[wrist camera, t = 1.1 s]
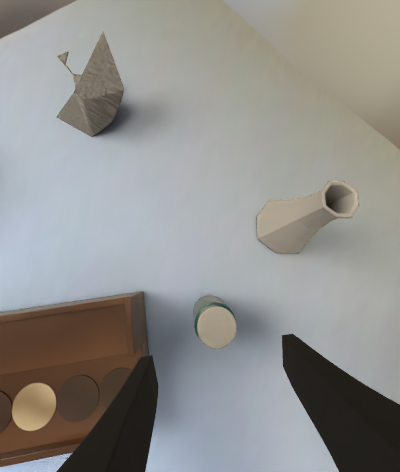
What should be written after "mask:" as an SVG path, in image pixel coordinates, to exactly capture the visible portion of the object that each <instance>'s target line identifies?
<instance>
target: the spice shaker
mask: <svg viewBox="0 0 400 472" xmlns="http://www.w3.org/2000/svg"><path fill="white" fill-rule="evenodd" d="M193 315H194V326H195V331H196V334H197V336H198V337H199V339H200V340H201V341H202V342H203V343H204V344H205V345H206V346H208V347H210V348H214V349H220V348H224V347H226V346H228V345H229V344H230V343H231V342H232V341H233V339H234V337H235V334H236V329H237V326H236V320H235V316H234V314H233V312H232V311H231V310H230V308H229V307H227V306H226V305H225V304H224V303H223V302H222V301H221V300H220V299H218V298H217V297H215V296H204V297H202V298H200V299H199V300H198V301H197V302H196V304H195V306H194V310H193Z"/></svg>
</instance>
